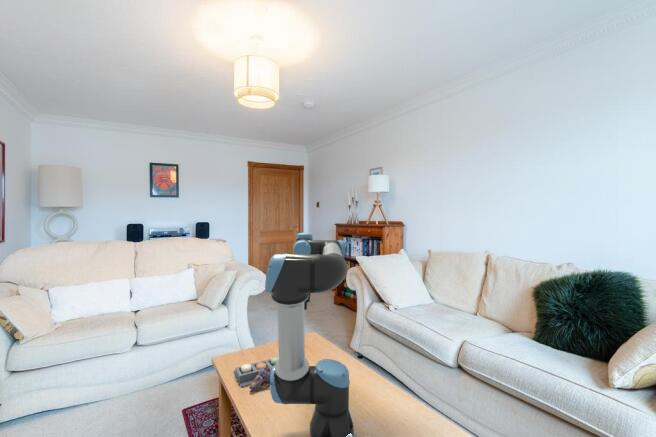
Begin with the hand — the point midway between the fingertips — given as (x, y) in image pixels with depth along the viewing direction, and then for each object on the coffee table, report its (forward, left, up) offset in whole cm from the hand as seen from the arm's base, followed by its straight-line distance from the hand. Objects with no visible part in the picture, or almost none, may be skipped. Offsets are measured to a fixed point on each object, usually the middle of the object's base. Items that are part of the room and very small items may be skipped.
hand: (303, 315), depth 143 cm
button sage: (+7, +11, -24) cm, 27 cm away
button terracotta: (+7, +18, -25) cm, 32 cm away
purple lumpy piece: (-2, +21, -26) cm, 34 cm away
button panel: (+7, +18, -26) cm, 33 cm away
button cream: (+7, +25, -24) cm, 35 cm away
